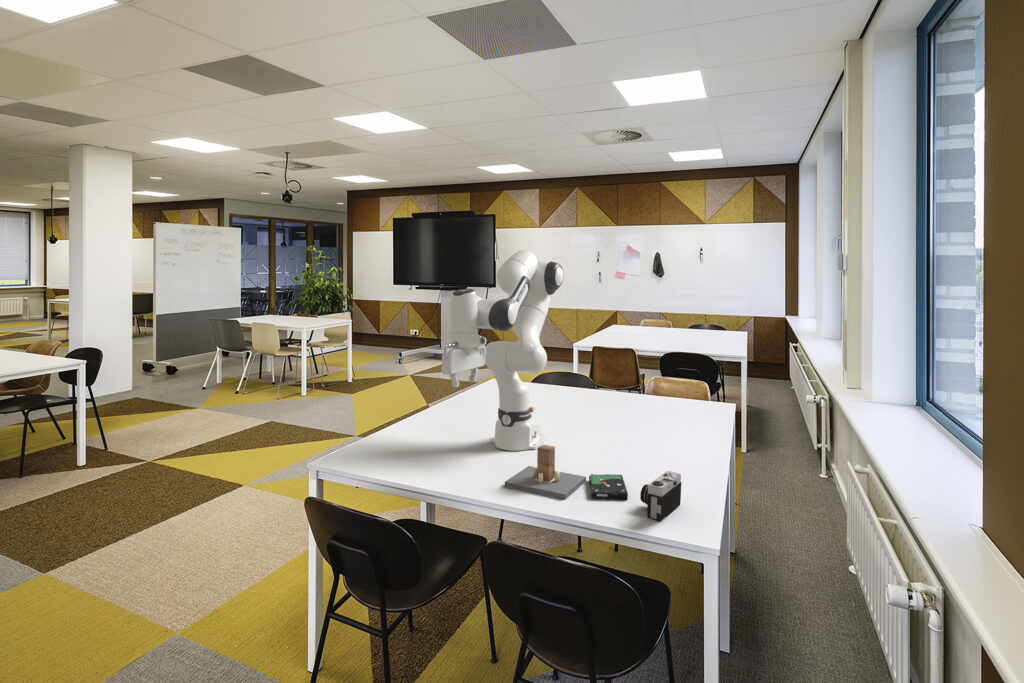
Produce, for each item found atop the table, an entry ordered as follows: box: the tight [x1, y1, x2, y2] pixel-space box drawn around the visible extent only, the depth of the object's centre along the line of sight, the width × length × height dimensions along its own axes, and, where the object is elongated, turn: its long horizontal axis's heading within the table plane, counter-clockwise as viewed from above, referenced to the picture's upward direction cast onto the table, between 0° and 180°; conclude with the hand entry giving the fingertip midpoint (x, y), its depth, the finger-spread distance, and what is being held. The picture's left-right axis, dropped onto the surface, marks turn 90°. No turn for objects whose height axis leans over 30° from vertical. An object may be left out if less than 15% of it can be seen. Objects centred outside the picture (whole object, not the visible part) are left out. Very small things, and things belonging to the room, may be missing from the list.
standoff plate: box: [504, 465, 587, 500], centre depth 171 cm, size 16×20×4 cm
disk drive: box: [588, 473, 629, 501], centre depth 167 cm, size 10×3×15 cm
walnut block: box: [536, 444, 556, 482], centre depth 170 cm, size 4×4×10 cm
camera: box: [639, 470, 682, 523], centre depth 152 cm, size 14×9×10 cm, turn 134°
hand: (464, 384), depth 177 cm, fingers open, 8 cm apart
